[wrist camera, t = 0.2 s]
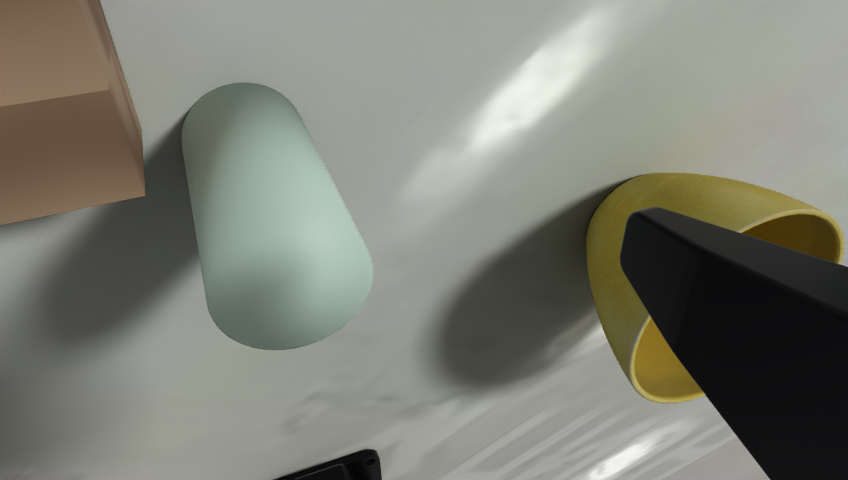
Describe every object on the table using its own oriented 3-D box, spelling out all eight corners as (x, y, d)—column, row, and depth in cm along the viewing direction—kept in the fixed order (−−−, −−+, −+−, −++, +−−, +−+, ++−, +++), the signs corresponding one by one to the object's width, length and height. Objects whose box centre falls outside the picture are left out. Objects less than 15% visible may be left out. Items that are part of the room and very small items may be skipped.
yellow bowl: (701, 264, 35) (806, 355, 30) (538, 325, 33) (619, 435, 28) (738, 98, 29) (880, 176, 23) (539, 161, 26) (645, 262, 21)
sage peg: (311, 178, 23) (378, 325, 17) (197, 202, 22) (226, 367, 16) (295, 73, 21) (366, 201, 15) (166, 94, 19) (187, 241, 14)
